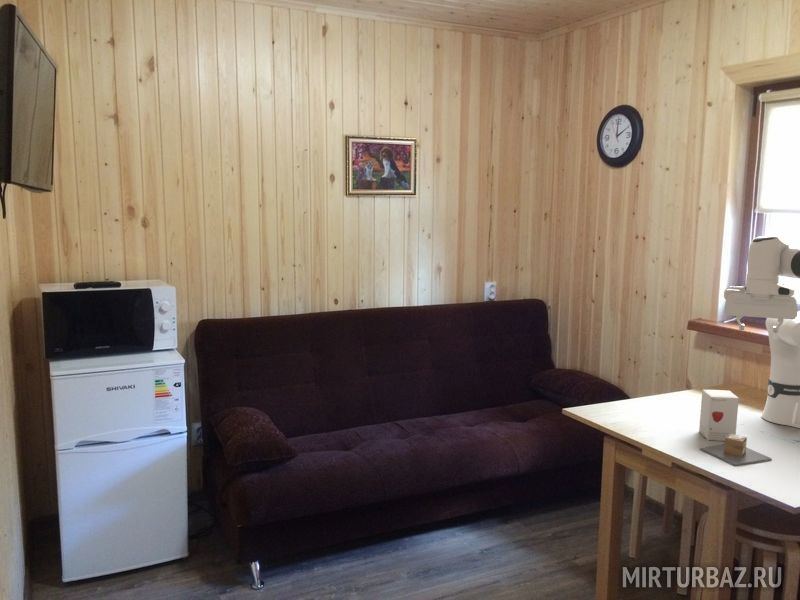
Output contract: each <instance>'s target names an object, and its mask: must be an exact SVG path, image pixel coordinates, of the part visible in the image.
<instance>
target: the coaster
mask: <svg viewBox="0 0 800 600" xmlns="http://www.w3.org/2000/svg"><path fill="white" fill-rule="evenodd" d="M724 445H725V443H724V444H723V443H722V444H716V445H709V446H702V447H699V450H700V451H703V452H704V453H707V454H708V455H711V456H712V457H715V458H717V459H719V460H722V462H723V461H724V462H725V463H727V464H730V465H731V466H734V467H738V466H739V467H740V466H743V465H750V464H757V463H763V462H769V461H772V460H773V459H772V458H771V457H769V456H766V455H765V454H764V453H763V454H762V453H760V452H759V451H755V450H753V449H751V448H748V447H746V453H745V454H744V455H743V456H742V457H738V456H734V455H729V454H725V453H724Z"/></svg>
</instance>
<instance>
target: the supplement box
mask: <svg viewBox="0 0 800 600" xmlns="http://www.w3.org/2000/svg"><path fill="white" fill-rule="evenodd" d="M739 399H740V398H739V397H738V396H737V395H736V394H735V393H733V392H732V391H731V390H728V389H727V390H724V389H723V390H720V389H702V390H701V401H700V416H699V427H698V432H699V433H700V434H701V435H702V436H703V437H704V438H705V439H706V440H707V441H718V442H719V441H723V442H725V437H726V436H727V435H728V434H734V435H737V433H736V432H737V425H738V424H737V423H738V422H737V421H738V413H739V411H738V410H739V402H740V401H739Z"/></svg>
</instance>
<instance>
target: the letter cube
mask: <svg viewBox="0 0 800 600" xmlns="http://www.w3.org/2000/svg"><path fill="white" fill-rule="evenodd" d="M747 438H748V437H747V436H743V435H738V434H736V435H734V434H728V435H727V436H726V437H725V441H724V444H725V445H724V453H725V454H729V455H734V456H738V457H742V456H743V455H744V454H745V453H746V448H747V442H748V440H747Z"/></svg>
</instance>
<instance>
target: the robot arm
mask: <svg viewBox="0 0 800 600" xmlns="http://www.w3.org/2000/svg"><path fill="white" fill-rule="evenodd" d="M747 267H748V268H747V269H748V271H747V274H746V281H745V286H734V285H733V286H732V285H731V286H729V287H727V288H725V290H723V291H724V292H723V297H724V300H725V302H724V303H725V304H724V307H723V313H724V315H726V316H735V320H736V322H737V324H738V331H745V324H744V323H742V322H741V319H742V317H749V318H750V317H751V318H764V319H766V320H765V328H766V331H767V333H768V342H769V349H770V371H769V372H770V373H769V378H768V381H767V388H766V389H767V390H766V391H767V396H766V397H767V398H766V400H765V401H766V402H765V405H764V408H763V412H762V413H761V418H762V419H763V420H766V421H768V422H771V423H774V424H778V425H783V426H789V427H793V428H796V429H797V428H798V429H800V310H798V303H797V299H796V297H795V296H794V294H795V289H794V288H793V287H792V286H789V285H785V284H784V283H779V280H780V279H779V276H780V277H786V278H794V279H800V246H795V245H794V246H791V244H789V243H786V242H784V241H783V240H781V239H780V237H779V236H778V235H773V234H769V235H760V236H757V237H754V238H753V239H752V240H751V242H750V244H749V248H748V254H747Z"/></svg>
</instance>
